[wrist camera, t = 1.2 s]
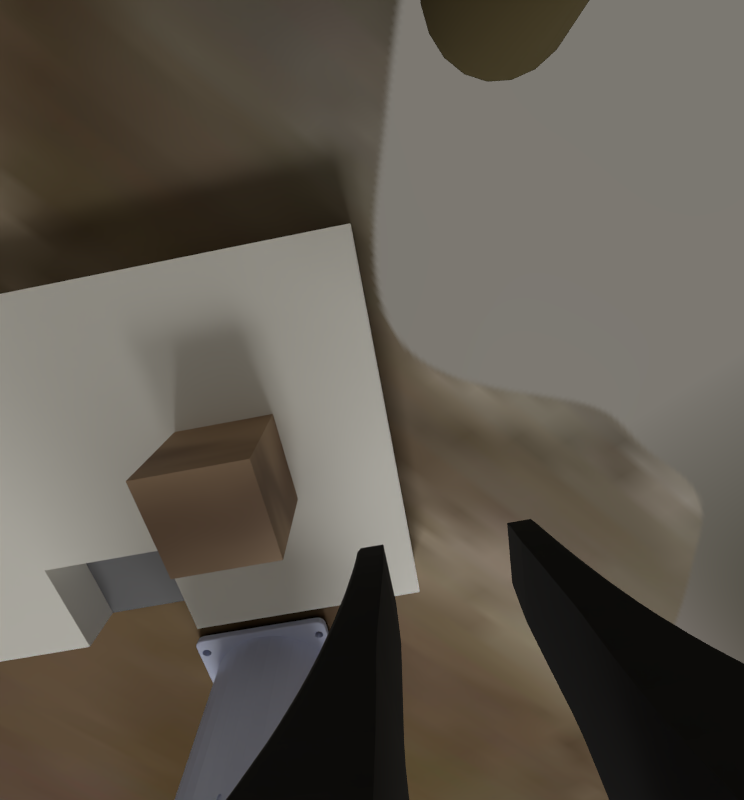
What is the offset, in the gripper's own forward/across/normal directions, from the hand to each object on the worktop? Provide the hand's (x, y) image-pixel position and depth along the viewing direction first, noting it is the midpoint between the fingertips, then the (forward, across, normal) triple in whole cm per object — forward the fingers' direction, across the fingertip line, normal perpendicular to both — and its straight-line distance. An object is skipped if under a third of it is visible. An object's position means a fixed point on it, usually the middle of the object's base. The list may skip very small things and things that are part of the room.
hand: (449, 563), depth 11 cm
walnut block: (+8, +8, 0) cm, 11 cm away
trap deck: (+10, +16, 0) cm, 19 cm away
